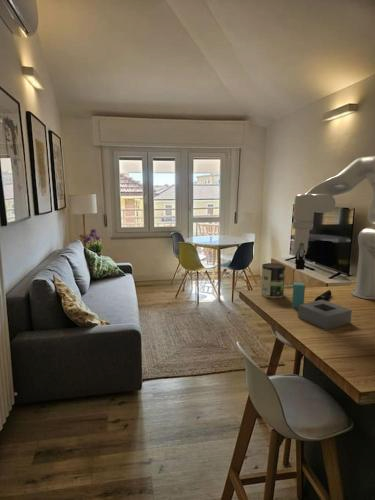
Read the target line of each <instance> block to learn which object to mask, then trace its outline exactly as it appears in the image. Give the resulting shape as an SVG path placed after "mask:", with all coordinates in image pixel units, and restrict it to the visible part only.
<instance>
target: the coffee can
mask: <svg viewBox="0 0 375 500" xmlns="http://www.w3.org/2000/svg"><path fill="white" fill-rule="evenodd" d="M261 267H262V269H261V290H260V291H261V293H260V294H261V296H263V297H264V298H265V297H266V298H270V299H279V298H282V297H284V294H285V293H284V292H285V290H284V289H285V288H284V287H285V273H286V266H285V264H282V263H275V262H274V263H273V262H270V263H268V262H266V263H263V264H262V266H261Z"/></svg>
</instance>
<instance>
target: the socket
mask: <svg viewBox="0 0 375 500" xmlns="http://www.w3.org/2000/svg"><path fill="white" fill-rule="evenodd" d="M297 309H298V310H297V318H299V319H301V320H303V321H306V322H307V323H310V324H312V325H314V326H316V327H319V328H321V329H323V330H325V331H328V330H332V329H335V328H338V327H342V326H345V325H348V324H351V321H352V313H353V312H352V310H351V309H349V308H347V307H345V306H344V307H343V306H341V305H339V304H336V303H333V302H330V301H327V300H318V301H315V300H314V301H310V302H306V303H304V304H300V305H299V307H298V308H297Z"/></svg>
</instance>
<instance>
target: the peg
mask: <svg viewBox="0 0 375 500" xmlns="http://www.w3.org/2000/svg"><path fill="white" fill-rule="evenodd" d="M292 286H293V287H292V298H291V299H292V301H291V308H292V309H298V307H299V305H300V304H305V303H304V302H305V289H306V284H305V282H298V281H293V284H292Z"/></svg>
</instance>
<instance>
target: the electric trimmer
mask: <svg viewBox="0 0 375 500" xmlns="http://www.w3.org/2000/svg"><path fill="white" fill-rule="evenodd" d="M331 296H332V291H331V290H330V289H329V290H326V291H324V292H323V293H321V294H320V295H318V296H316V298H315V299H314V301H318V300H325V301H327V300H329V299H330V298H331Z"/></svg>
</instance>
